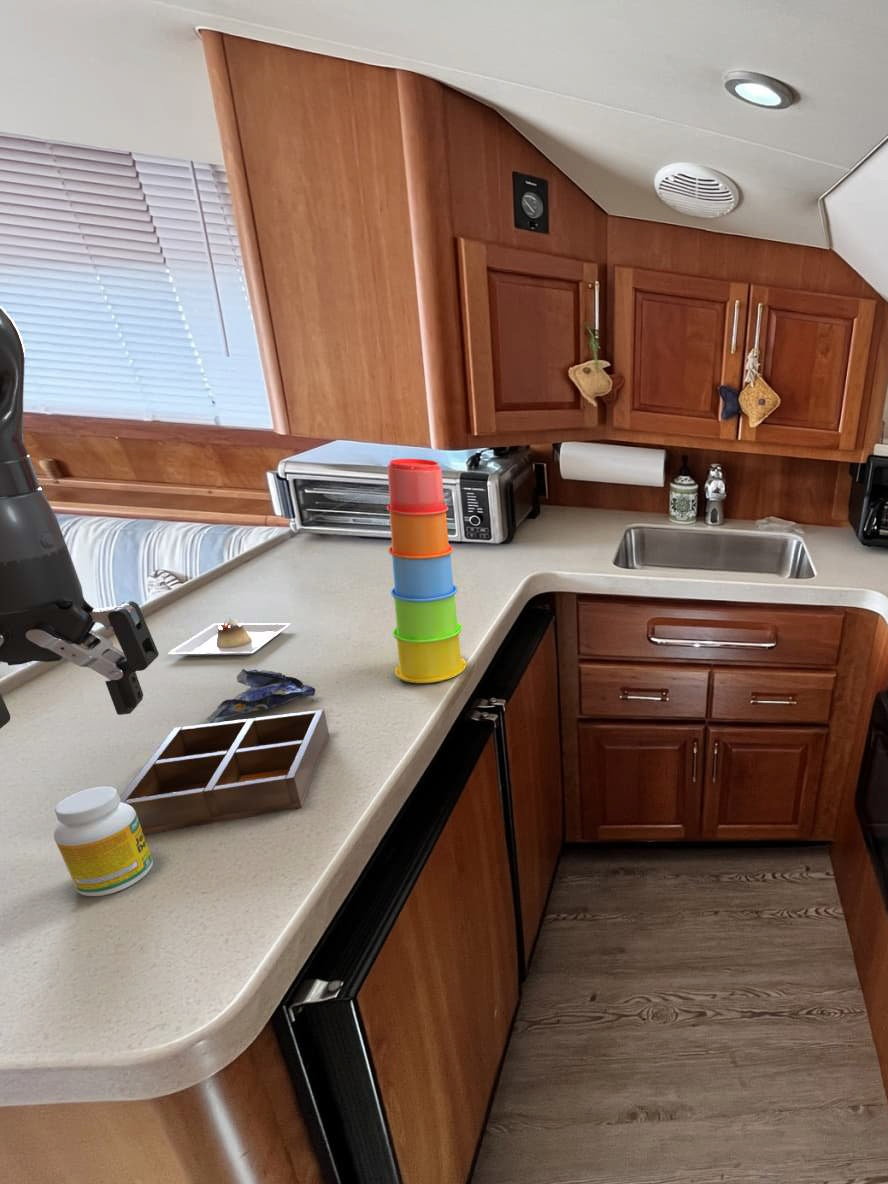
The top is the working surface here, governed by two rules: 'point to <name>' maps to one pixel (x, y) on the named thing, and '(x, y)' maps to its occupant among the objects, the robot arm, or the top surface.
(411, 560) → the stacking cups
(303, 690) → the snack package
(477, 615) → the top surface
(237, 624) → the dessert
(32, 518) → the robot arm
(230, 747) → the compartment tray
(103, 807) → the supplement bottle
